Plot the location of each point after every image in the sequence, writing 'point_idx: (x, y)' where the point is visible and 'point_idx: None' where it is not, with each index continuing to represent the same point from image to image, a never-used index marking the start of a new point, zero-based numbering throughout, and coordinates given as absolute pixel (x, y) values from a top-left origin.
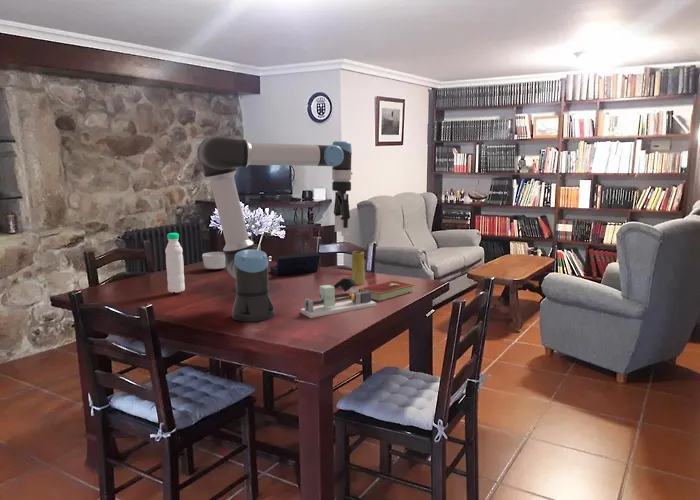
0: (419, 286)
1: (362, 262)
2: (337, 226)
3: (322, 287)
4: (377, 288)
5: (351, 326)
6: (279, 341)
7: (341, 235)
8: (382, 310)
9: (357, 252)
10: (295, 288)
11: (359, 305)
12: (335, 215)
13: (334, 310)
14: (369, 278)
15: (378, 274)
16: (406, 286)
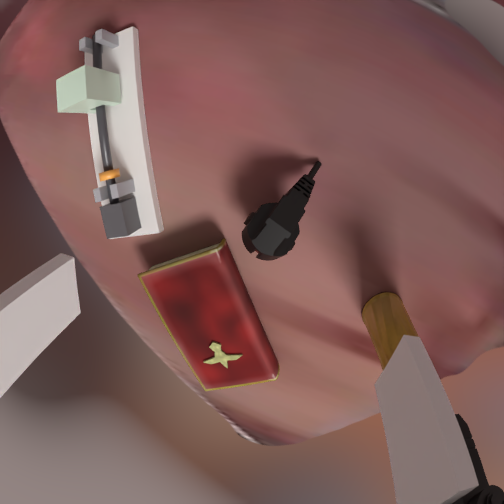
0: (261, 409)
1: (381, 364)
2: (405, 395)
3: (68, 73)
4: (197, 299)
5: (25, 129)
6: (27, 8)
7: (64, 257)
8: (86, 233)
9: None
10: (429, 99)
11: (99, 185)
12: (477, 493)
13: None
14: None
15: None
16: (191, 369)
